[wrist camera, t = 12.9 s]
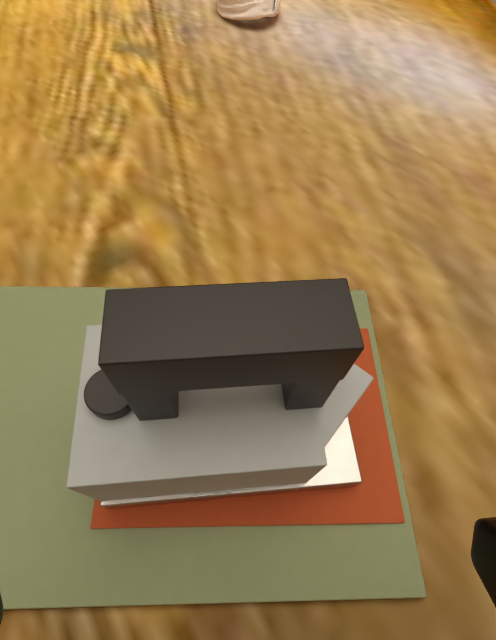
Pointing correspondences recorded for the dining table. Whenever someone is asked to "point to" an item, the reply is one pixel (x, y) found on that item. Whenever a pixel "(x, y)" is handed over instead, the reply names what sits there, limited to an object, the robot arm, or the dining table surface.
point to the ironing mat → (181, 517)
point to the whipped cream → (248, 9)
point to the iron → (218, 393)
